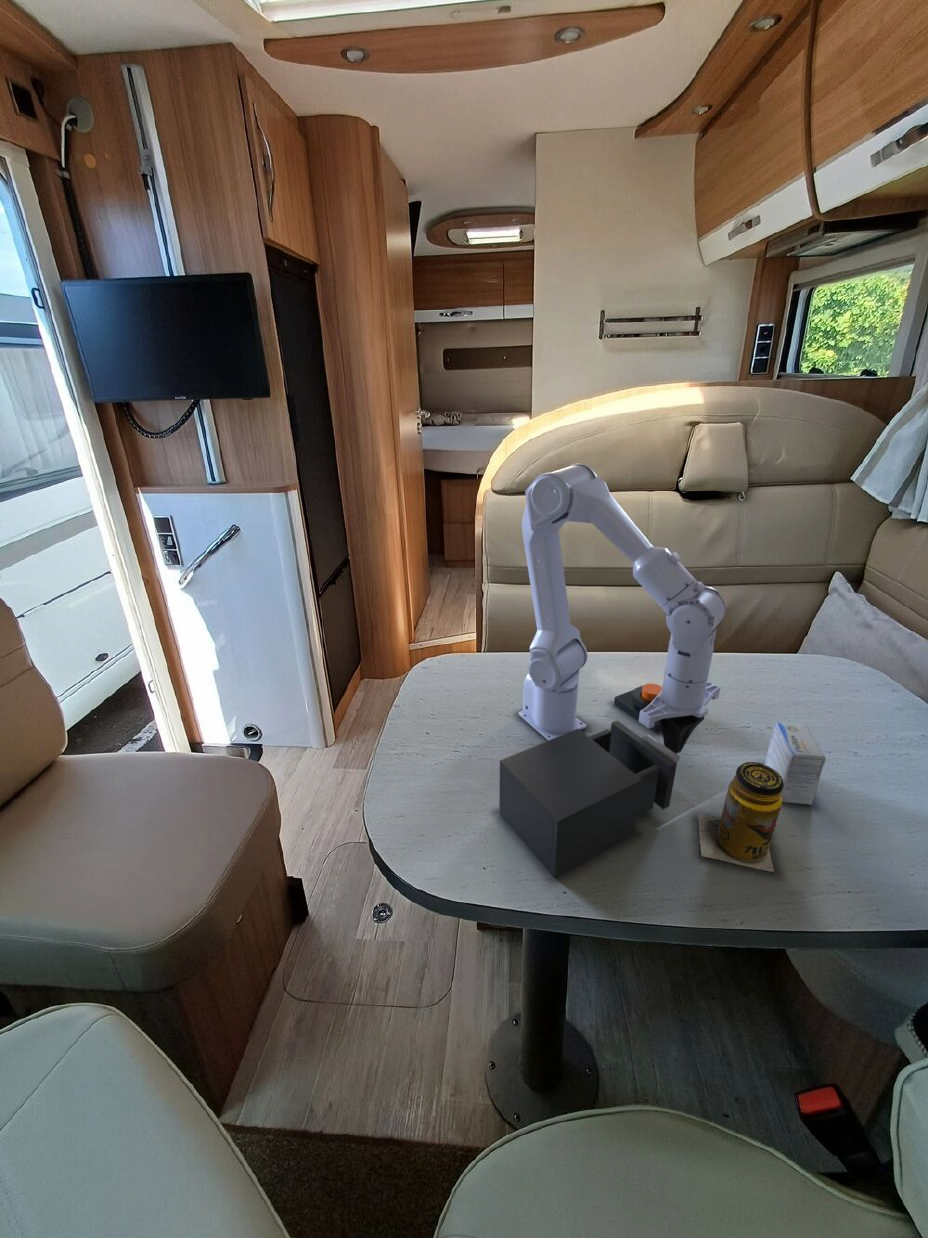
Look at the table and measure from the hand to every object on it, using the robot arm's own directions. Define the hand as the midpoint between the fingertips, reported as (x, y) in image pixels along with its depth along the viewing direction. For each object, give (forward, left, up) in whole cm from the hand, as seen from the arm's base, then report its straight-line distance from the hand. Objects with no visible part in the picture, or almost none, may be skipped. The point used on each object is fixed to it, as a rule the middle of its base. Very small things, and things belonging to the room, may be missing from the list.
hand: (672, 749), depth 84 cm
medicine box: (+11, +13, -5) cm, 17 cm away
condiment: (+14, -3, -5) cm, 15 cm away
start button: (-13, +10, -1) cm, 16 cm away
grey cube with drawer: (0, -20, -4) cm, 21 cm away
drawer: (0, -10, -4) cm, 11 cm away
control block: (-13, +10, -4) cm, 17 cm away
